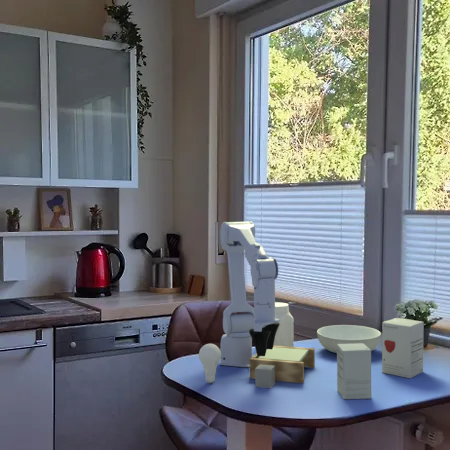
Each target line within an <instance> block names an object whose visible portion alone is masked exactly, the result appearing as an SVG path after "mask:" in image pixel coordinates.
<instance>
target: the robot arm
mask: <svg viewBox="0 0 450 450" xmlns="http://www.w3.org/2000/svg"><path fill="white" fill-rule="evenodd" d="M219 235H220V236H219V237H220V245H221V250H224V251H226V255H227V266H228V276H229V290H230V291H229V292H230V304H229V305H228V306H226V308H225V309H224V310H223V312H222V316H223V317H222V329H223V332H224V333H225V334H222V336H221V338H220V346H219V347H220V348H219V349H220V352H221V358H220V363H219V365H220V366H227V367H228V366H229V367H237V368H238V367H239V368H240V367H241V368H250V358H252V357H253V343H254V347H255V348H254V349H255V354H256V353H257V356H265V355H266V349H273V345H274V340H275V335H276V332H277V329H278V327H279V325H280V323H278V322H280V320H279V319H276V318H275V302H276V281H275V280H277V278H278V276H279V265H278V262H277V259H276V258H275V257H269V255H268V253H267V252H266V250H265V249H264V247H263V245H261V243H257V241H256V238H255V237H256V227H255V224H254V222H253V221H252V220H249V221H228V222H227V221H223V222H222V223H221V225H220V230H219ZM243 254H244V255H243ZM244 258H245V259H246V261H247V263H248V265H249V267H250V275H251V283H252V287H253V306H252V305H251V304H250V303H249V304H248V302H247V291H246V290H247V289H246V279H245V278H246V277H245V267H244Z"/></svg>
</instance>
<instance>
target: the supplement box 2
mask: <svg viewBox="0 0 450 450" xmlns="http://www.w3.org/2000/svg"><path fill="white" fill-rule="evenodd" d="M381 324H382V328H381V330H382V331H381V339H382V340H381V341H382V342H381V343H382V345H381V347H382V349H381V352H382V353H381V355H382V356H381V358H382V359H381V373H383V374H387V375H393V376H395V377H396V376H397V377H402V378H406V379H413V378H414V377H416V376H418V375H420V374H421V373H423V372H424V332H425V331H424V326H425V325H424V324H425V322H424V321H422V320H420V321H419V320H414V319H410V318H409V319H408V318H406V319H405V318H401V317H400V318H399V317H395V318H394V317H393V318H392V319H388V320H384V321H383V322H382V323H381Z"/></svg>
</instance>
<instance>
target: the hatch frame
mask: <svg viewBox="0 0 450 450" xmlns="http://www.w3.org/2000/svg"><path fill="white" fill-rule="evenodd" d="M273 347H278V348H292V349H305V350H308V353H307V355H306V356H305V357H304V358H303V360H302V361H301V362H296V361H284V360H272V359H259V358H257V357H258V356H257V353H256V352H255V354H254V355H252V358H250V367H249V379H253V380H254V379H255V368H256V367H257V366H259V365H260V364H261V365H273V366H275V382H284V383H285V382H287V383H296V384H304V383H305V368H310V369H311V368H313V369H314V368H315V367H316V365H315V363H316V362H315V361H316V359H315V357H316V356H315V355H316V354H315V352H316V351H315V349H316V348H314V347H313V348H312V347H300V346H294V347H287V346H274V345H273Z"/></svg>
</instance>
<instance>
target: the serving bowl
mask: <svg viewBox="0 0 450 450" xmlns="http://www.w3.org/2000/svg"><path fill="white" fill-rule="evenodd" d="M316 334H317V340H318V341H319V343H320V344H321V346H322V347H323V348H324V349H325V350H327V351H329V352H331V353H336V354H337V344H357V343H363V344H365V345H366V346H367V347H368V348H369V349H370V350H371V352H373V351H374V350H375V349H376V348H377V347H378V346H379V344H380V342H381V339H382V331H379V330H378V329H376V328H373V327H369V326H364V325H354V324H353V325H351V324H338V325H337V324H335V325H328V326H322V327H320V328H318V329H317V331H316Z"/></svg>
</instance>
